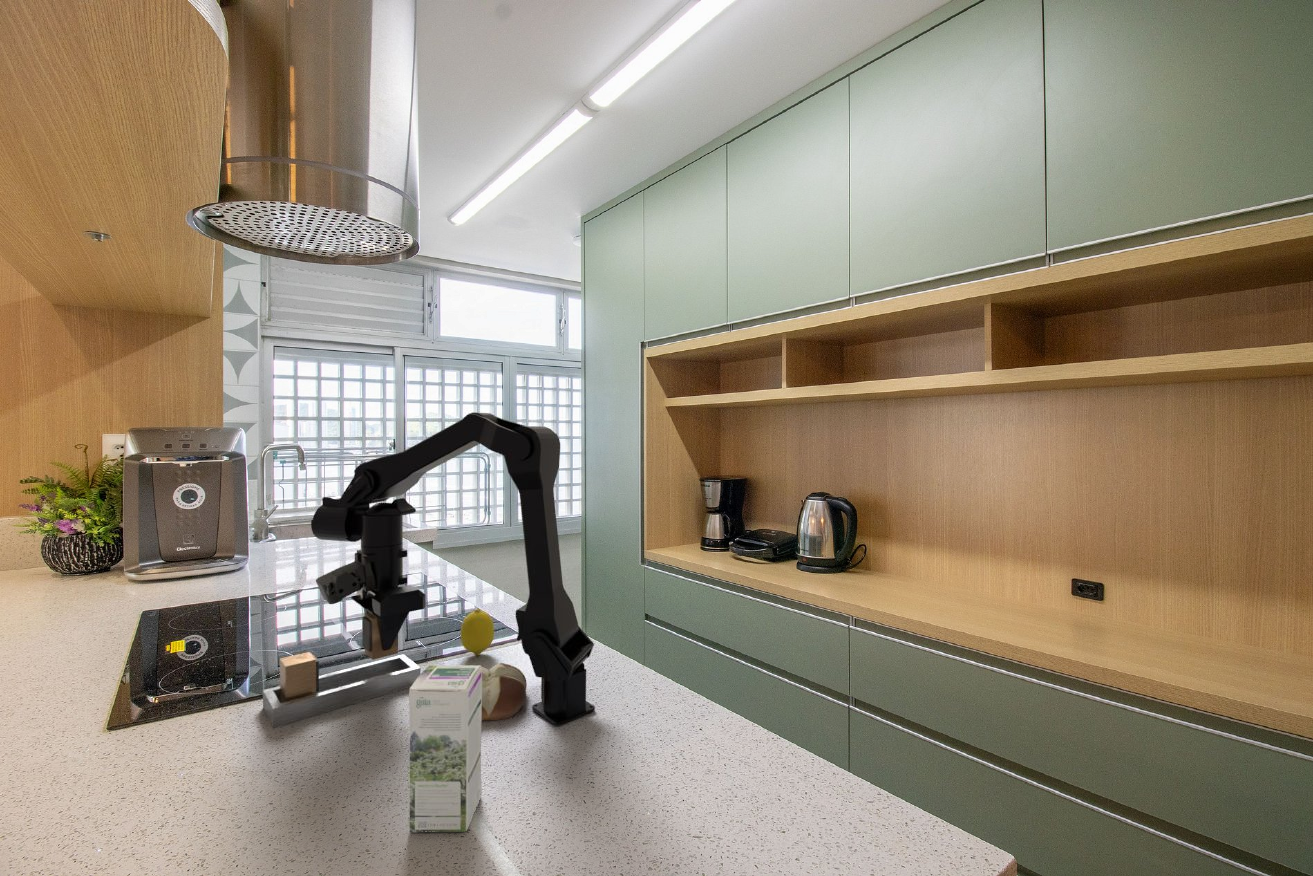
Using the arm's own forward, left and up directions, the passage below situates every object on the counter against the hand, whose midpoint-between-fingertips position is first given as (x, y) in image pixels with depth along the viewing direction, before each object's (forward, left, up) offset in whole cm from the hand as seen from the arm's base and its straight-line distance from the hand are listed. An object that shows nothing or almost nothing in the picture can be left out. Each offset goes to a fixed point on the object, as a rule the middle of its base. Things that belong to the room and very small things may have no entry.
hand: (382, 646), depth 87 cm
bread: (-16, -9, -6) cm, 19 cm away
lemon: (+1, -16, -6) cm, 17 cm away
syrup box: (-35, +5, -6) cm, 36 cm away
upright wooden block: (0, 0, -1) cm, 1 cm away
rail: (0, +5, -6) cm, 8 cm away
